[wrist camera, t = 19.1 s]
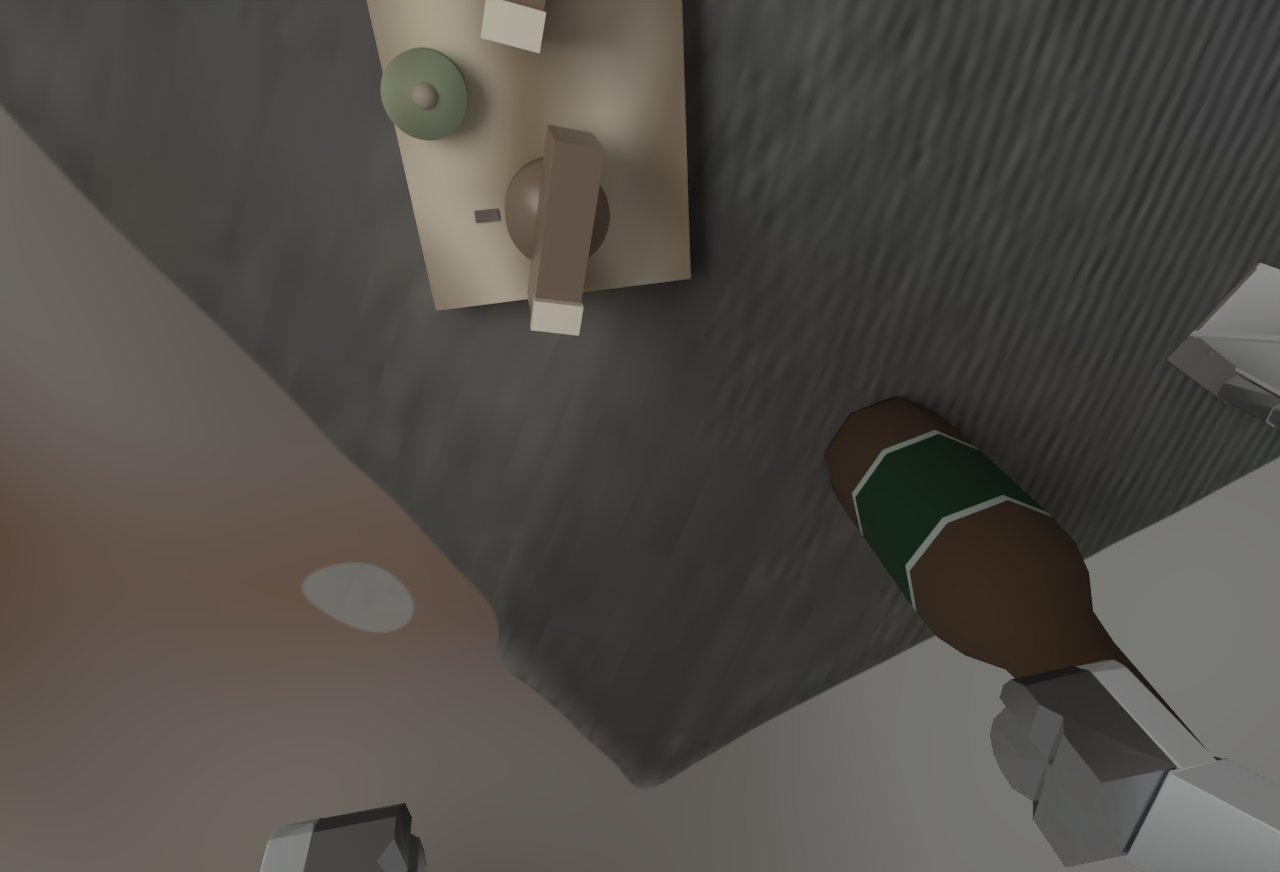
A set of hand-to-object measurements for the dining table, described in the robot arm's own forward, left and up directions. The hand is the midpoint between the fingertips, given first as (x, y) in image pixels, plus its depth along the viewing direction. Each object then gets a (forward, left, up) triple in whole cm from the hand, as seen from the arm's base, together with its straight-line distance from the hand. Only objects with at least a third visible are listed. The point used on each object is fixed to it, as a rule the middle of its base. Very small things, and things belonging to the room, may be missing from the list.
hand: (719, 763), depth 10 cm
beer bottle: (-18, +16, -29) cm, 38 cm away
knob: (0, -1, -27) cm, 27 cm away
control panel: (0, -6, -29) cm, 30 cm away
